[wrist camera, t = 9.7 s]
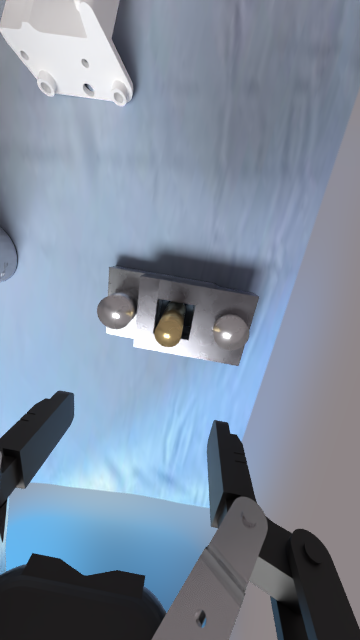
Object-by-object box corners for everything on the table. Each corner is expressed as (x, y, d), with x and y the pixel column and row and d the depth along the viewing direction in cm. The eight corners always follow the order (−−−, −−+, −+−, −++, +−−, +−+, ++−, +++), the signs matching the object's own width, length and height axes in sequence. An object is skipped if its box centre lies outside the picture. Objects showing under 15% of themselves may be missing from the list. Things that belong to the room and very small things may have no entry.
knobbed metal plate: (112, 327, 34) (93, 344, 28) (116, 265, 31) (95, 270, 25) (232, 349, 34) (240, 371, 28) (249, 289, 30) (262, 299, 24)
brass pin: (167, 298, 32) (155, 320, 22) (187, 302, 32) (183, 324, 22) (165, 317, 33) (152, 344, 23) (183, 320, 33) (179, 349, 23)
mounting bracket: (142, 64, 25) (111, -145, 14) (133, 112, 24) (93, -67, 14) (45, 51, 25) (-58, -163, 14) (33, 98, 25) (-82, -87, 14)
